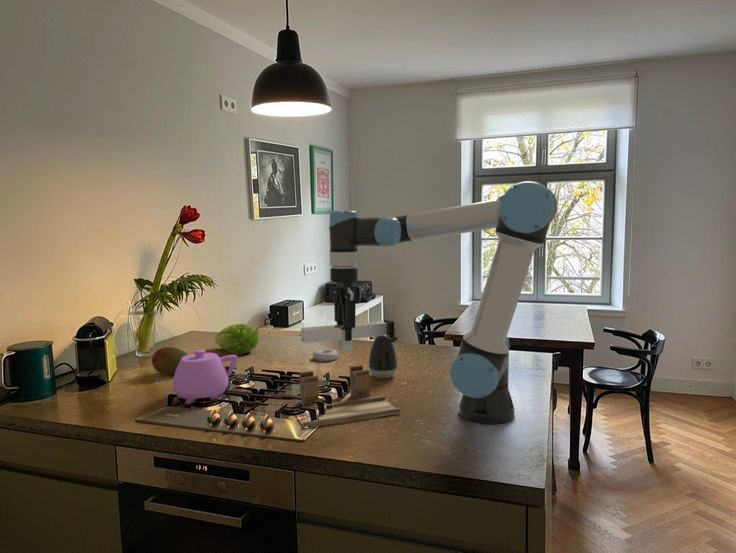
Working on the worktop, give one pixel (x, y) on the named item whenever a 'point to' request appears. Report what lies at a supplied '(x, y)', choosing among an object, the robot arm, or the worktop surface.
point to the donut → (325, 355)
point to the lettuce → (237, 338)
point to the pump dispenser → (383, 357)
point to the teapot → (202, 375)
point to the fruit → (167, 359)
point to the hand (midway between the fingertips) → (345, 349)
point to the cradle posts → (357, 385)
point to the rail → (336, 333)
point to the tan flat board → (354, 411)
